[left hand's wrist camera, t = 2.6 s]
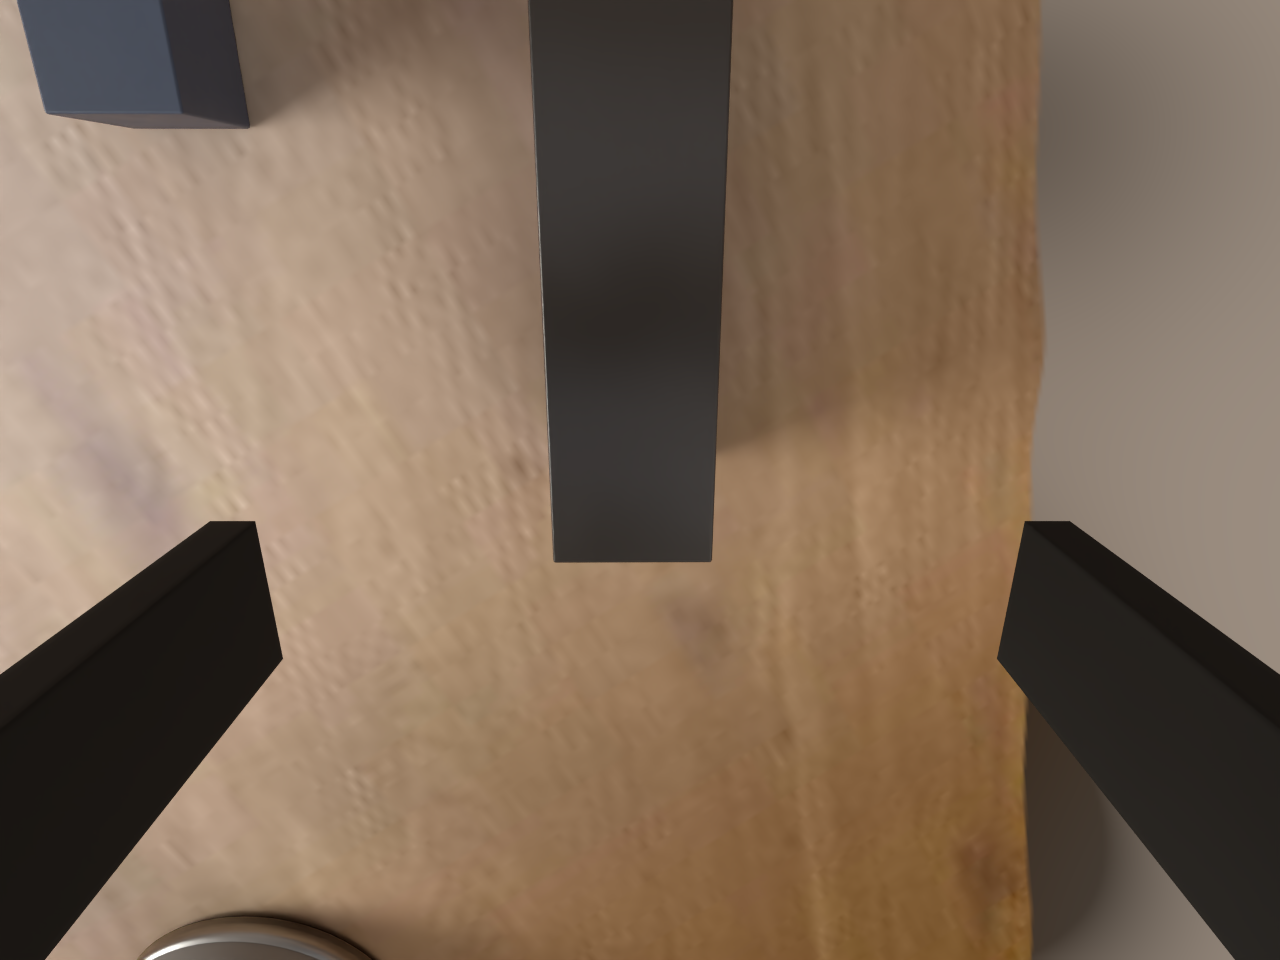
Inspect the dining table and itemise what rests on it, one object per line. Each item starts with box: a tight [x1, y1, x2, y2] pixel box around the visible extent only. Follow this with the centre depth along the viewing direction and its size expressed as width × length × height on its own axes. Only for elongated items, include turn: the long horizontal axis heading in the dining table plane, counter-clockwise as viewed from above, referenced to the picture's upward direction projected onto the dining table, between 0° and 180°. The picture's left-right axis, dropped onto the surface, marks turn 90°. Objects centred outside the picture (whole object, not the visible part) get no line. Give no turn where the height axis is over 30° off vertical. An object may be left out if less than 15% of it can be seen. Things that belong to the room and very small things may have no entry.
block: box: [528, 0, 733, 562], centre depth 20 cm, size 26×4×9 cm, turn 0°
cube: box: [17, 0, 250, 129], centre depth 22 cm, size 4×4×4 cm
